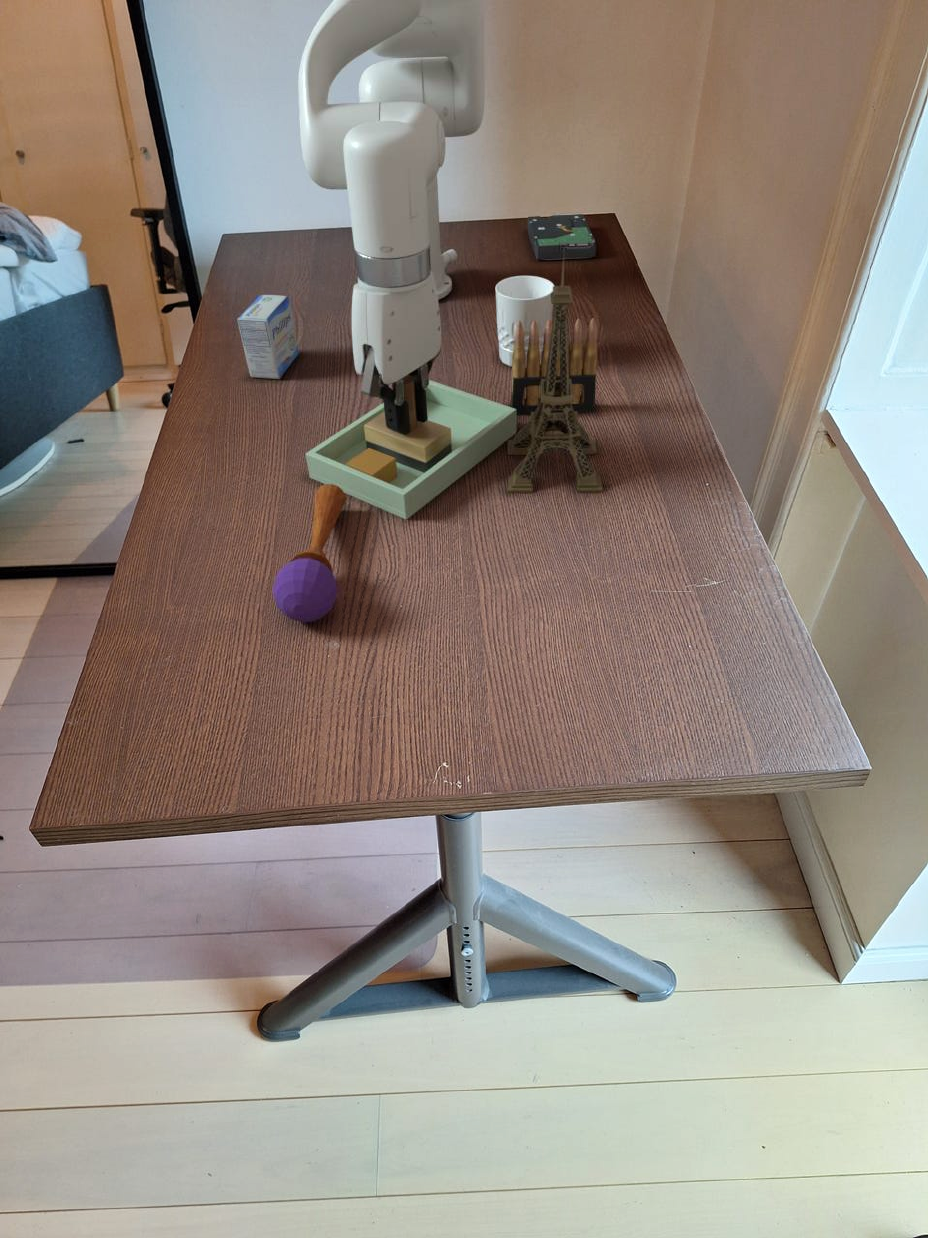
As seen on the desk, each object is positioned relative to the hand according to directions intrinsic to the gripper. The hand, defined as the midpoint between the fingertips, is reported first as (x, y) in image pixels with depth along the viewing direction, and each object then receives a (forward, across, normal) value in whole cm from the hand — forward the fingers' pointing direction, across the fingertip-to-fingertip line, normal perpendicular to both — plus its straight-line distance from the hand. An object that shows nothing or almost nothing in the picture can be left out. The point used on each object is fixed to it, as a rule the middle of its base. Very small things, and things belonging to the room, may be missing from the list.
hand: (407, 423), depth 98 cm
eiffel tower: (+5, -8, +15) cm, 18 cm away
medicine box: (+5, -8, -31) cm, 32 cm away
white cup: (+5, -29, -3) cm, 30 cm away
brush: (+4, 0, 0) cm, 4 cm away
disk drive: (+5, -69, -21) cm, 72 cm away
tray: (+5, -1, 0) cm, 5 cm away
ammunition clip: (+5, -19, +8) cm, 21 cm away
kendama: (+5, +21, +5) cm, 22 cm away
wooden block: (+4, +7, 0) cm, 8 cm away
